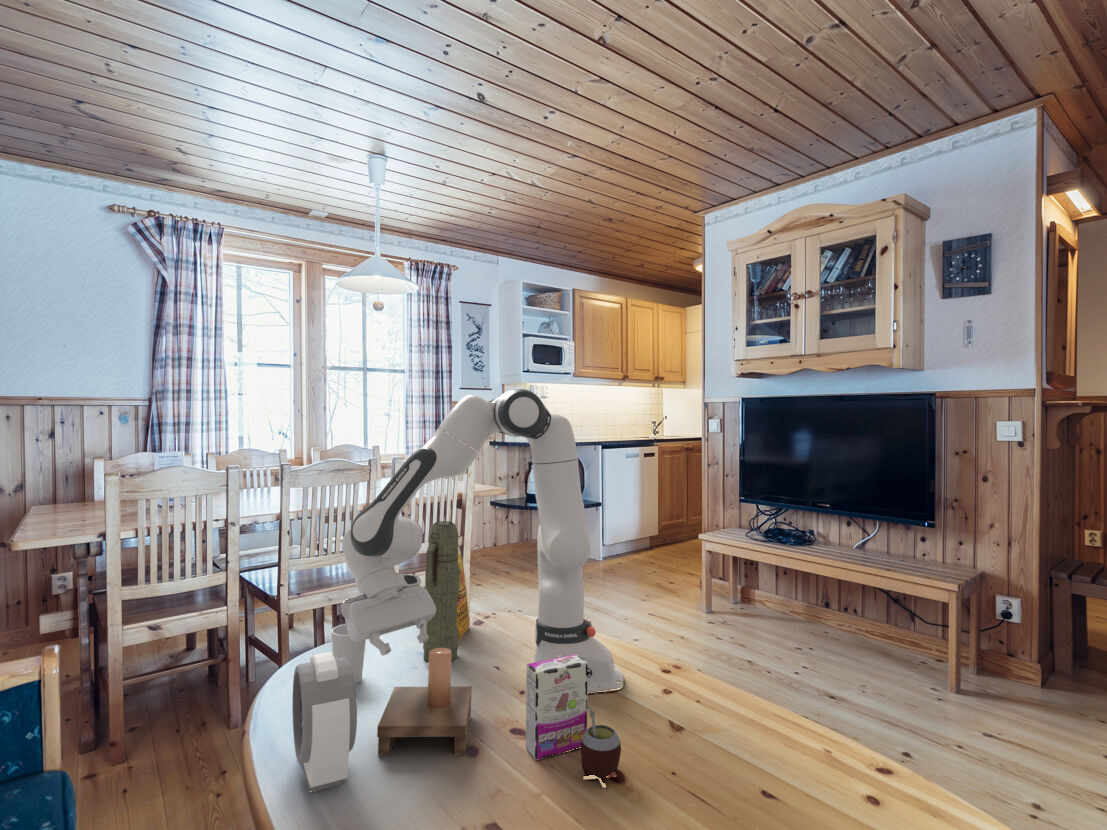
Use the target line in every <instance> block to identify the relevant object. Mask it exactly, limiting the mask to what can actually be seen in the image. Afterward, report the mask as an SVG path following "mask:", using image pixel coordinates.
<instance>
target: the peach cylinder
mask: <svg viewBox="0 0 1107 830" xmlns="http://www.w3.org/2000/svg"><path fill="white" fill-rule="evenodd" d="M427 677H428V678H427V679H428V681H427V687H428V705H429V706H431V707H435V708H440V707H445V706H447V705H449V704H450V691H451V685H452V684H451V683H452V682H451V680H452V662H451V650H450V649H448V648H435V649H432V650H430V651H429V663H428V676H427Z"/></svg>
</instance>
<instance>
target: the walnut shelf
mask: <svg viewBox="0 0 1107 830" xmlns="http://www.w3.org/2000/svg"><path fill="white" fill-rule="evenodd" d="M472 687H473V686H472V685H471V686H468V685H467V686H457V685H456V686H451V691H450V704H449V705H447V706H445V707H440V708H435V707H431V706H429V705H428V686H394V688H393V690H392V693H391V695H390V697H389V699H388V702H387V704H386V705H385V708H384V711H383V713H382V715H381V717H380V720H379V722H378V724H377V729H376V730H377V732H376V733H377V734H376V737H377V738H378V740H377V741H378V742H377V743H378V745H377V757H389V756H390V754H391V751H392V749H393V746H394V744H395V741H396V738H410V737H411V738H419V737H420V738H423V737H424V738H425V737H426V738H427V737H428V738H429V737H430V738H431V737H432V738H433V737H435V738H436V737H438V738H439V737H446V738H447V737H454V756H462V755H461V754H465V753H466V752H467V747H466V746H468V738H469V731H470V724H471V717H472V711H471V710H472V693H473V692H472V690H473V688H472ZM465 755H466V754H465Z"/></svg>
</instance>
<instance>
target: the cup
mask: <svg viewBox="0 0 1107 830" xmlns="http://www.w3.org/2000/svg"><path fill="white" fill-rule="evenodd" d="M366 640H367V639H366ZM366 640H363V641H359V642H354V641H353V640H351V639H350V637H349V633H348V630H347V626H346V623H344V624H343V623H342V624H340V625H337V626H334V627H333V628H331V644H332V645H331V646H332V647H331V648H332V654H333V656H334V658H340V657H347V658H348V660H349V662H350V664H351V667H352V671H353V675H354V681H355V685H357V684H359V683H361V682H362V680H363V670H364V669H363V668H364V659H365V650H366ZM358 682H359V683H358ZM356 683H357V684H356Z"/></svg>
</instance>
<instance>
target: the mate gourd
mask: <svg viewBox="0 0 1107 830" xmlns="http://www.w3.org/2000/svg"><path fill="white" fill-rule="evenodd" d="M585 706H586V707H587V710H588V711H589V717H590V718H591V725H590V727H587V730H586V731H585V733H584V735H583V738H582V742H581V748H580V749H579V750H580V759H581V761H580V762H581V768H582V771H583V775H584V776H589V775H595V776H597V777H599V778H601V780H602V782H603V783H605V782H606V776H608V775H610V774H611V773H612V772H616V773H617V771H618V767H619V764H620V758H621V753H622V745H621V739H620V737H619V736H618V733H617V732H616V730H615V729H613V728H612V727H611V726H608V725H603V724H596V722H595V716H596V715H595V711H594V710H593V708H592V707H591V706H590V705H588V704H587V705H585Z"/></svg>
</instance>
